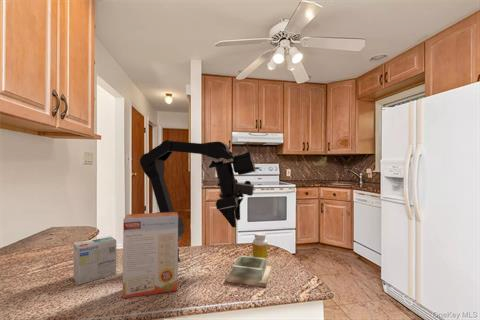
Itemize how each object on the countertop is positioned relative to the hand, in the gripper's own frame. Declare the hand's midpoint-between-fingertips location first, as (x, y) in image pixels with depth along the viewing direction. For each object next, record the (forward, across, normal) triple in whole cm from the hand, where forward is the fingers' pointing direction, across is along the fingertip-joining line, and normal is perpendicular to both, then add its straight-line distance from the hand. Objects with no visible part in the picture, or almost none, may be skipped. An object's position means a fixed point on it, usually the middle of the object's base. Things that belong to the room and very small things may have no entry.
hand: (236, 223), depth 82 cm
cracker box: (+10, -18, +24) cm, 31 cm away
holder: (+16, -4, -2) cm, 16 cm away
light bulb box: (+5, -13, +44) cm, 47 cm away
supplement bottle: (+17, +7, -4) cm, 19 cm away
